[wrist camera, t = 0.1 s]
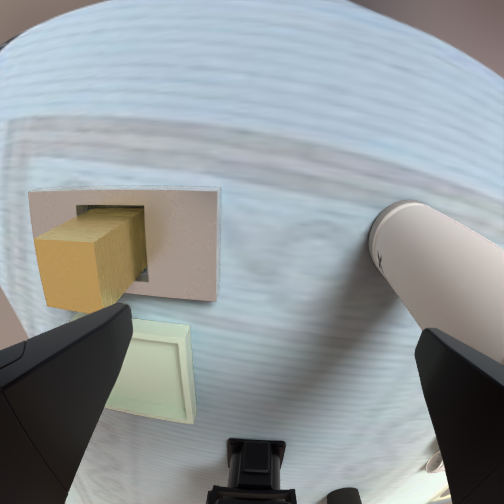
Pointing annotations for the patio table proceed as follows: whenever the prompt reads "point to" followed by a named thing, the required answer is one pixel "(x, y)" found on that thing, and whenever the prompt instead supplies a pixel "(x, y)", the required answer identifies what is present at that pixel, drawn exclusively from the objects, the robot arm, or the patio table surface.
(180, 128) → the patio table surface
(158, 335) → the tray
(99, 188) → the brown rectangular frame
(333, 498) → the drinking cup
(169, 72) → the patio table surface
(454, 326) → the travel mug
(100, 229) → the wooden beam piece
